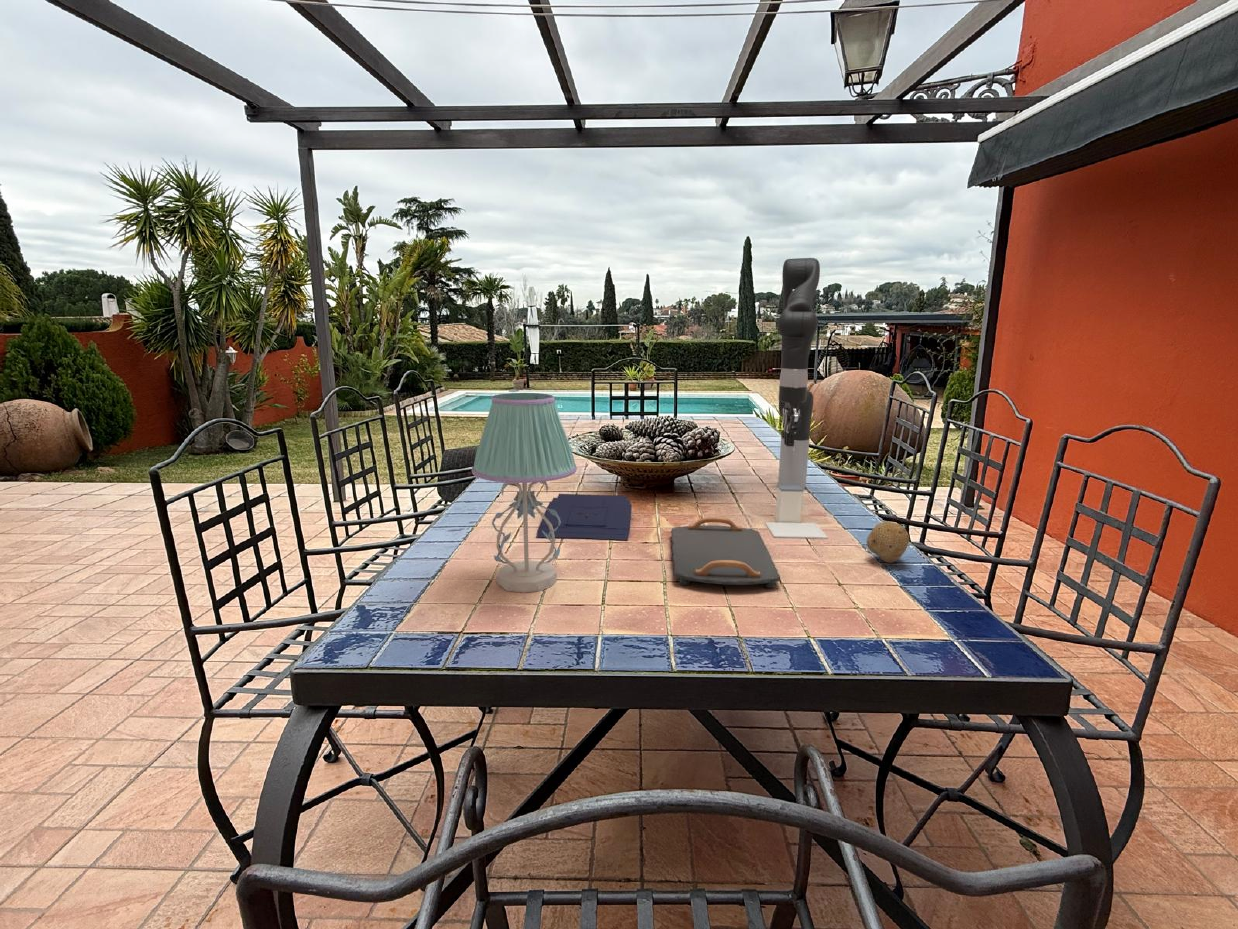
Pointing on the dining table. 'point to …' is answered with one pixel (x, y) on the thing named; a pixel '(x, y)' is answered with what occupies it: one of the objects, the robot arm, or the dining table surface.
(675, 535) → the serving board
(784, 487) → the block
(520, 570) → the table lamp
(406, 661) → the dining table surface
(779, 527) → the mat
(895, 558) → the potato
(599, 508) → the dark blue flat slab
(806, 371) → the robot arm
